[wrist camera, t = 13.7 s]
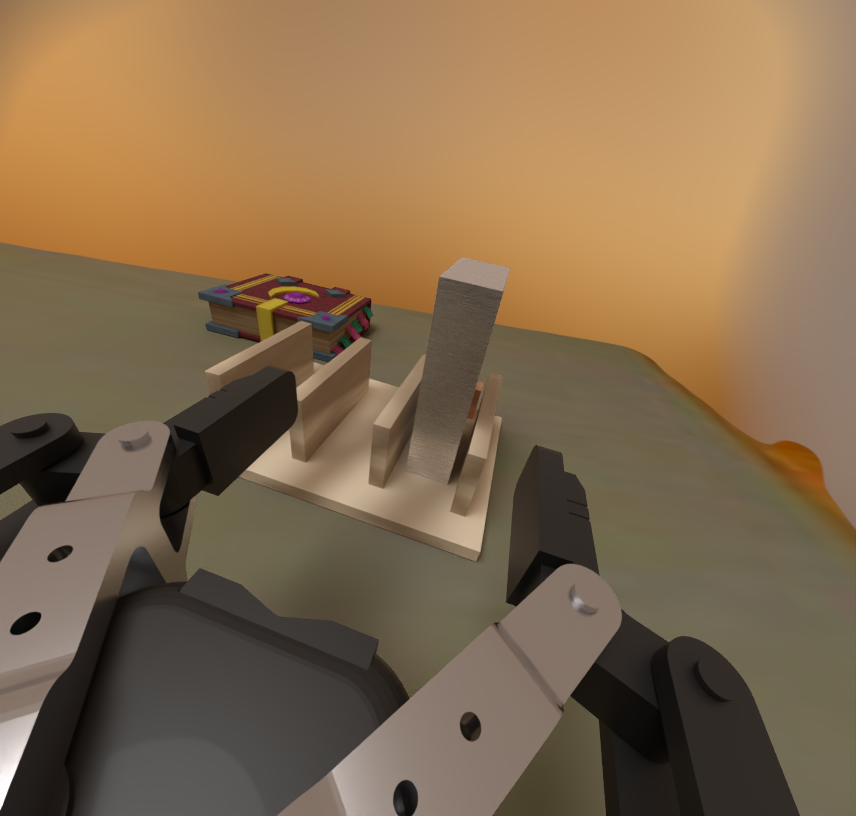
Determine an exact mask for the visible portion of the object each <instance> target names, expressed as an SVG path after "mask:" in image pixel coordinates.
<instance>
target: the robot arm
mask: <svg viewBox="0 0 856 816" xmlns="http://www.w3.org/2000/svg"><path fill="white" fill-rule="evenodd" d="M297 415H298V402H297V390H296V378H295V375H294V373H293V372H291V371H288V370H285V369H281V368H278V367H274V366H271V365H269V366H266V367H264V368H263V369H261V370H260V371H258V372H257V373H255V374H253V375H250V376H246V377H243V378H240V379H237V380H234V381H232V382H230V383H229V384H227V385H225V386H224V387H222V388H220V391H218V390H217V391H216V392H214V393H212V394H211V395H209V397H208V398H207V397H206V398H204V399H202V400H201V401H199V402H197V403H196V404H194V405H192V406H191V407H189V408H188V409H186V410H184V411H183V412H181V413H179V414H178V415H176V416H174V417H173V418H171V419H169V420H168V421H166V422H164V423H160V422H155V421H140V422H134V423H129V424H126V425H123V426H120V427H118V428H115V429H113V430H112V431H110V432H108V433H107V434H102V433H87V432H79V430H78V429H77V427H76V425H75V424H74V422H73V420H72V419H71V418H70V417H69V416H67V415H64V414H58V413H44V414H36V415H31V416H27V417H23V418H19V419H16V420H14V421H11V422H9V423H6V424H4V425H2V426H0V494H2V493H3V492H5V491H7V490H8V489H10V488H12V487H14V486H15V485H17V484H19V483H20V485H21V486H22V487H23V488H24V489H25V491H26V492H27V493H28V494H29V496H30V497H31V498H32V499H33V500H32V501H30V502H29V503H27V504H25V505H24V506H22V507H21V508H19V509H18V510H16V511H15V512H13V513H11V514H10V515H8V516H7V517H5V518H4V519H2V520H1V521H0V816H492V815H493V814H494V812H495V811H496V810H497V808H498V807H499V805H500V804H501V802H502V801H503V800H504V798H505V797H506V795H507V794H508V793H509V791H510V790H511V788H512V787H513V786H514V784H515V783H516V781H517V780H518V779H519V777H520V776H521V774H522V773H523V771H524V770H525V769H526V767H527V766H528V764H529V763H530V762H531V760H532V759H533V757H534V756H535V755H536V753H537V752H538V750H539V749H540V748H541V746H542V745H543V743H544V742H545V740H546V739H547V738H548V736H549V735H550V733H551V732H552V731H553V729H554V728H555V726H556V725H557V723H558V722H559V720H560V718H561V716H562V714H563V712H564V709H563V706H564V704H565V702H566V701H567V699H568V698H569V696H571V697H572V698H573V699H575V700H576V701H577V702H578V703H580V704H581V705H582V706H583V707H585V708H586V709H587V710H588V711H589V712H591V713H592V714H593V715H594V716H596V717H597V718H598V719H599V727H600V740H601V753H602V766H603V780H604V793H605V806H606V816H800V815H799V812H798V810H797V807H796V804H795V802H794V799H793V797H792V794H791V792H790V789H789V787H788V784H787V781H786V779H785V776H784V774H783V771H782V769H781V766H780V764H779V761H778V759H777V756H776V753H775V751H774V748H773V746H772V743H771V741H770V738H769V736H768V733H767V730H766V728H765V725H764V723H763V720H762V718H761V715H760V713H759V710H758V708H757V705H756V702H755V700H754V698H753V696H752V693H751V691H750V690H749V688H748V686H747V684H746V683H745V681H744V680H743V678H742V677H741V675H740V674H739V673H738V672H737V670H736V669H735V668H734V667H733V666H732V665H731V664H730V663H729V662H728V660H727V659H725V658H724V657H723V656H722V655H721V654H720V653H719V652H717V651H716V650H715V649H713V648H712V647H711V646H709V645H707V644H706V643H704V642H702V641H700V640H698V639H695V638H692V637H687V636H680V637H677V638H674V639H673V640H672V641H670V642H667V641H666V640H664V639H663V638H661V637H660V636H658V635H657V634H655V633H654V632H652V631H651V630H649V629H648V628H646V627H645V626H643V625H642V624H640V623H639V622H637V621H636V620H634V619H633V618H632V617H630V616H629V615H627V614H626V613H625V612H624V611H623V610H622V609H621V607H620V604H619V601H618V599H617V597H616V595H615V594H614V592H613V590H612V589H611V588H610V586H609V585H608V584H607V583H606V582H605V581H604V580H603V579H602V578H601V577H600V575H599V570H598V564H597V559H596V553H595V547H594V541H593V535H592V529H591V523H590V522H589V519H590V518H589V512H588V509H587V500H586V494H585V490H584V488H583V487H582V485H581V483H580V482H579V480H578V478H577V477H576V475H574V474H571V473H568V472H564V466H563V456H562V453H561V452H557V451H554V450H551V449H547V448H544V447H541V446H537V445H536V446H535V447H534V448H533V450H532V452H531V454H530V456H529V458H528V460H527V462H526V465H525V467H524V469H523V471H522V473H521V475H520V477H519V480H518V482H517V485H516V488H515V493H514V498H513V511H512V525H511V539H510V553H509V567H508V582H507V596H506V603H509V604H512V605H514V606H517V607H516V608H515V609H513V610H512V611H511V612H510V613H509V614H508V615H507V616H506V617H505V618H504V619H503V620H501V621H500V622H499V623H494V624H492V625H491V626H489V627H488V628H487V629H486V630H485V631H483V632H482V633H481V634H480V635H479V636H478V637H477V638H476V639H475V640H474V641H472V642H471V643H470V644H469V645H468V646H467V647H466V648H465V649H464V650H463V651H462V652H460V653H459V654H458V655H457V656H456V657H455V658H454V659H453V660H452V661H451V662H450V663H448V664H447V665H446V666H445V667H444V668H443V669H442V670H441V671H440V672H439V673H438V674H436V675H435V676H434V677H433V678H432V679H431V680H430V681H429V682H428V683H427V684H426V685H424V686H423V687H422V688H421V689H420V690H419V691H418V692H417V693H416V694H415V695H413V696H412V697H411V698H409V696H408V694H407V692H406V690H405V688H404V686H403V685H402V683H401V681H400V680H399V678H398V677H397V676H396V674H395V673H394V671H393V670H392V669H391V668H390V667H389V666H388V664H387V663H386V662H385V661H384V660H382V659H381V658H380V657H379V656H378V655H377V654H376V651H377V646H378V639H375V638H373V637H370V636H368V635H365V634H363V633H360V632H358V631H355V630H353V629H350V628H348V627H345V626H343V625H340V624H338V623H335V622H333V621H324V620H312V619H300V618H287V617H279V616H277V615H275V614H274V613H272V612H271V611H270V610H269V609H268V608H267V607H266V606H264V605H263V604H262V603H261V602H260V601H259V600H258V599H257V598H256V597H254V596H253V595H252V594H251V593H250V592H249V591H248V590H247V589H245V588H244V587H243V586H242V585H241V584H238V583H236V582H233V581H231V580H228V579H226V578H223V577H221V576H218V575H216V574H213V573H211V572H208V571H206V570H203V569H201V568H200V569H199V570H198V571H197V572H196V573H195V574H194V575H193V576H192V577H191V578H190V580H189V581H187V573H186V556H187V551H188V545H189V540H190V535H191V529H192V524H193V518H194V513H195V508H196V499H195V496H196V495H197V494H198V493H199V492H200V491H201V490H203V491H206V492H209V493H211V494H214V495H217V496H219V495H220V494H221V493H222V492H223V491H224V490H225V489H226V488H227V487H228V486H229V485H230V484H231V483H232V482H233V481H234V480H236V479H237V478H238V477H239V476H240V475H241V474H242V473H243V472H244V471H245V470H246V469H247V468H248V467H249V466H250V465H251V464H253V463H254V462H255V461H256V460H257V459H258V458H259V457H260V456H261V455H262V454H263V453H264V452H265V451H266V450H267V449H268V448H270V447H271V446H272V445H273V444H274V443H275V442H276V441H277V440H278V439H279V438H280V437H281V436H282V435H283V434H284V433H285V432H287V431H288V430H289V429H290V428H291V427H292V426H293V424H294V423H295V421H296V418H297Z"/></svg>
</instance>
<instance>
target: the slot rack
mask: <svg viewBox="0 0 856 816" xmlns="http://www.w3.org/2000/svg"><path fill="white" fill-rule="evenodd" d="M371 344H372V340H369V339H365V338H362V337H360V338H359V339H358V340H356V341H355V342H354V343H353V344H351V345H350V346H349V347H348V348H346V349H345V350H344V351H343V352H341V353H340V354H339V355H337V356H336V357H335V358H334V359H332V360H331V361H330V362H329V363H327V364H326V365H325V366H324V365H321V364H317V363H314V362H313V342H312V324H311V323H307V322H304V321H300V322H298V323H296V324H294V325H292V326H290V327H288V328H286V329H284V330H283V331H281V332H279V333H277V334H275V335H273V336H271V337H269V338H267V339H265V340H263V341H261V342H260V343H258V344H256V345H254V346H252V347H250V348H248V349H246V350H244V351H242V352H240V353H238V354H236V355H235V356H233V357H231V358H229V359H227V360H225V361H223V362H221V363H219V364H217V365H215V366H213V367H211V368H210V369H208V370H206V371H205V375H206V378H207V382H208V386H209V390H210V394H212V393H214V392H216V391H217V390H218V391H220V388H222V387H224V386H225V385H227V384H229V383H230V382H232V381H234V380H237V379H240V378H243V377H246V376H250V375H253V374H255V373H257V372H258V371H260V370H261V369H263V368H264V367H266V366H269V365H271V366H274V367H278V368H281V369H285V370H288V371H291V372H293V373H294V375H295V378H296V390H297V402H298V415H297V418H296V421H295V423H294V424H293V426H292V427H291V428H290V429H289V430H288V431H287V432H285V433H284V434H283V435H282V436H281V437H280V438H279V439H278V440H277V441H276V442H275V443H274V444H273V445H272V446H271V447H270V448H268V449H267V450H266V451H265V452H264V453H263V454H262V455H261V456H260V457H259V458H258V459H257V460H256V461H255V462H254V463H253V464H251V465H250V466H249V467H248V468H247V469H246V470H245V471H244V472H243V473H242V474H241V475H240V476H239V477H240V478H243V479H246V480H249V481H252V482H254V483H257V484H260V485H263V486H266V487H268V488H271V489H274V490H277V491H280V492H282V493H285V494H288V495H291V496H294V497H296V498H299V499H302V500H305V501H308V502H310V503H313V504H316V505H319V506H322V507H324V508H327V509H330V510H333V511H336V512H338V513H341V514H344V515H347V516H350V517H352V518H355V519H358V520H361V521H364V522H366V523H369V524H372V525H375V526H378V527H380V528H383V529H386V530H389V531H392V532H394V533H397V534H400V535H403V536H406V537H408V538H411V539H414V540H417V541H420V542H422V543H425V544H428V545H431V546H434V547H436V548H439V549H442V550H445V551H448V552H450V553H453V554H456V555H459V556H462V557H464V558H467V559H470V560H473V561H477V558H478V556H479V554H480V551H481V545H482V538H483V532H484V526H485V520H486V513H487V507H488V501H489V495H490V488H491V482H492V476H493V469H494V463H495V457H496V451H497V444H498V438H499V432H500V426H501V419H502V417H498V416H495V412H496V407H497V401H498V396H499V391H500V386H501V381H502V376H499V375H496V374H492V373H490V374H489V377H488V381H487V384H486V387H485V390H484V393H483V397H482V400H481V403H480V406H479V410H475V409H476V406H477V403H478V399H479V396H480V393H481V389H482V386H483V383H482V382H477V385H476V389H475V392H474V396H473V399H472V402H471V406H470V409H469V413H468V416H467V420H466V423H465V427H464V430H463V434H462V437H461V440H460V444H459V447H458V451H457V454H456V457H455V461H454V464H453V468H452V471H451V474H450V478H449V481H448V484H447V485H446V484H443V483H440V482H436V481H433V480H430V479H427V478H424V477H421V476H418V475H415V474H411V473H408V472H406V466H407V461H408V455H409V449H410V443H411V438H412V432H413V426H414V420H415V415H416V409H417V403H418V397H419V392H420V386H421V380H422V374H423V369H424V363H425V357H426V355H423V356H422V357H421V359H420V360H419V361H418V363H417V364H416V366H415V367H414V368H413V370H412V371H411V372H410V374H409V375H408V377H407V378H406V379H405V381H404V382H403V383H402V385H401V386H400V388H399V387H396V386H392V385H389V384H386V383H382V382H379V381H375V380H372V379H369V374H370V359H371Z"/></svg>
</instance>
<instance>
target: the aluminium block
mask: <svg viewBox="0 0 856 816" xmlns="http://www.w3.org/2000/svg"><path fill="white" fill-rule="evenodd" d="M509 271H510V268H507V267H502V266H498V265H494V264H490V263H485V262H481V261H477V260H472V259H468V258H463V257H462V258H461V259H459V260H458V261H457V262H456V263H455V264H453V265H452V266H451V267H450V268H449V269H448V270H446V272H444V273H443V274H442V275H441V276H440V277H439V282H438V288H437V294H436V300H435V305H434V311H433V317H432V323H431V328H430V334H429V340H428V346H427V351H426V357H425V363H424V369H423V374H422V380H421V386H420V392H419V397H418V403H417V409H416V415H415V420H414V426H413V432H412V438H411V443H410V449H409V455H408V461H407V466H406V472H408V473H411V474H415V475H418V476H421V477H424V478H427V479H430V480H433V481H436V482H440V483H443V484H446V485H447V484H448V481H449V478H450V474H451V471H452V468H453V464H454V461H455V457H456V454H457V451H458V447H459V444H460V440H461V437H462V434H463V430H464V427H465V423H466V420H467V416H468V413H469V409H470V406H471V402H472V399H473V396H474V392H475V389H476V385H477V382H478V378H479V375H480V371H481V368H482V364H483V361H484V357H485V354H486V351H487V347H488V344H489V340H490V337H491V333H492V330H493V326H494V323H495V319H496V316H497V312H498V309H499V306H500V302H501V299H502V295H503V292H504V288H505V284H506V281H507V278H508V274H509Z"/></svg>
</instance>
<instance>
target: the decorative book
mask: <svg viewBox="0 0 856 816" xmlns="http://www.w3.org/2000/svg"><path fill="white" fill-rule="evenodd" d="M198 295H199V299H201V300H205V301H208V302H209V306H210V311H211V315H212V319H213V321H211V322H208V323H206V328H207V330H210V331H214V332H218V333H221V334H225V335H229V336H233V337H237V338H238V337H239V336H241V337H245V338H248V339H252V340H256V341H260V342H261V341H263V340H265V339H267V338H269V337H271V336H273V335H275V334H277V333H279V332H281V331H283V330H284V329H286V328H288V327H290V326H292V325H294V324H296V323H298V322H300V321H304V322H307V323H311V324H312V342H313V358H316V359H320V360H323V361H327V362H330V361H331V360H332V359H334V358H335V357H336V356H337V355H339V354H340V353H341V352H343V351H344V350H345V349H346V348H348V347H349V346H350V345H351V343H352V342H354V341H355V340H358V339H359V338H360V337H361V336H360V335H361V334H362V333H364V332H365V331H366V330H367V329H368V328H369V327H370V317H372V316H373V314H372V312H371V299H370V298H365V297H361V296H357V295H353V294H350V291H349V290H345V289H341V288H337V287H334V288H332V289H328V288H324V287H320V286H316V285H312V284H308V283H304V282H303V279H299V278H295V277H291V276H286V277H284V278H283V277H279V276H274V275H270V274H263V275H259V276H256V277H253V278H250V279H247V280H244V281H241V282H237V283H234V284H231V285H227V286H226V285H225V284H224V285H221V286H217V287H214V288H210V289H207V290H203V291H200V292H198Z"/></svg>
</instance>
